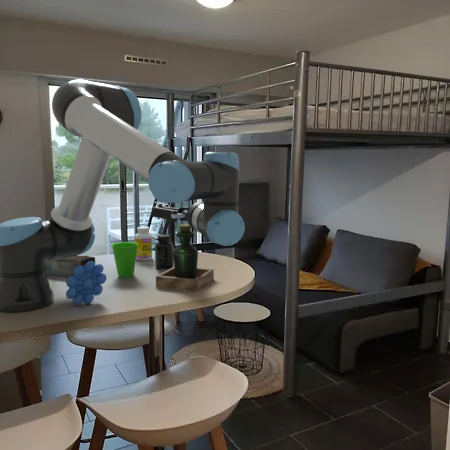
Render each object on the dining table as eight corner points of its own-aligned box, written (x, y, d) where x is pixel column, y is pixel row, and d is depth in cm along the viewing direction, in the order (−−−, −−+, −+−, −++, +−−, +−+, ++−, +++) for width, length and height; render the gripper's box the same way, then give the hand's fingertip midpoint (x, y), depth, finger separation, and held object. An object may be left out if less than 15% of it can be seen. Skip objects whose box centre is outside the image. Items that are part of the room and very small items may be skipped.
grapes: (100, 295, 126) (98, 255, 124) (111, 301, 121) (109, 259, 119) (60, 304, 118) (58, 262, 117) (70, 311, 114) (68, 266, 112)
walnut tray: (156, 287, 135) (155, 276, 134) (175, 275, 148) (175, 265, 147) (197, 291, 130) (196, 280, 130) (213, 279, 143) (213, 269, 143)
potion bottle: (188, 275, 144) (187, 222, 142) (203, 280, 138) (203, 225, 136) (168, 280, 139) (167, 225, 136) (183, 285, 133) (182, 228, 130)
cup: (133, 280, 142) (132, 247, 141) (107, 278, 144) (106, 246, 142) (143, 273, 151) (142, 242, 149) (119, 271, 153) (118, 241, 151)
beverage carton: (53, 268, 158) (52, 251, 157) (97, 273, 151) (96, 255, 150) (37, 274, 150) (35, 255, 149) (82, 279, 144) (81, 260, 143)
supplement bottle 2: (177, 267, 159) (177, 235, 157) (163, 270, 154) (162, 237, 153) (166, 264, 164) (165, 233, 162) (151, 267, 159) (150, 235, 157)
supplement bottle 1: (141, 261, 168) (140, 229, 166) (132, 259, 172) (131, 227, 170) (155, 259, 172) (154, 227, 170) (145, 256, 177) (144, 225, 175)
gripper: (154, 236, 98) (138, 221, 118) (253, 231, 107) (223, 218, 127) (153, 203, 97) (137, 194, 116) (254, 201, 106) (223, 193, 125)
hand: (182, 207), depth 122 cm, fingers open, 13 cm apart
